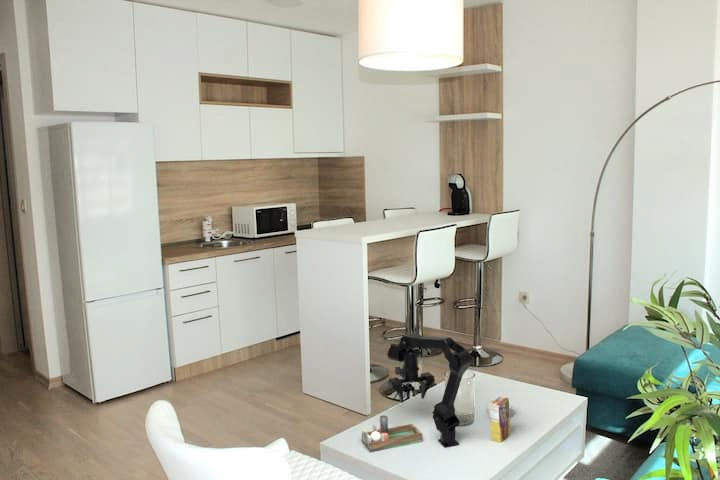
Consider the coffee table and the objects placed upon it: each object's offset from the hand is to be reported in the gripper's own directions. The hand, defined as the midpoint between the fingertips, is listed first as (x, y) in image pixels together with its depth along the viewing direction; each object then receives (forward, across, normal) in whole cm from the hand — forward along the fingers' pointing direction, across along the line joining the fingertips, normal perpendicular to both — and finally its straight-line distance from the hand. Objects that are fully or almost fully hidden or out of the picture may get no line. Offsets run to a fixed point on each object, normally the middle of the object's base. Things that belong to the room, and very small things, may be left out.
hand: (412, 400), depth 250 cm
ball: (+10, +19, +6) cm, 22 cm away
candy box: (+13, -29, +20) cm, 38 cm away
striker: (+12, +15, +6) cm, 20 cm away
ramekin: (+13, -39, +2) cm, 41 cm away
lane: (+13, +12, +6) cm, 19 cm away
